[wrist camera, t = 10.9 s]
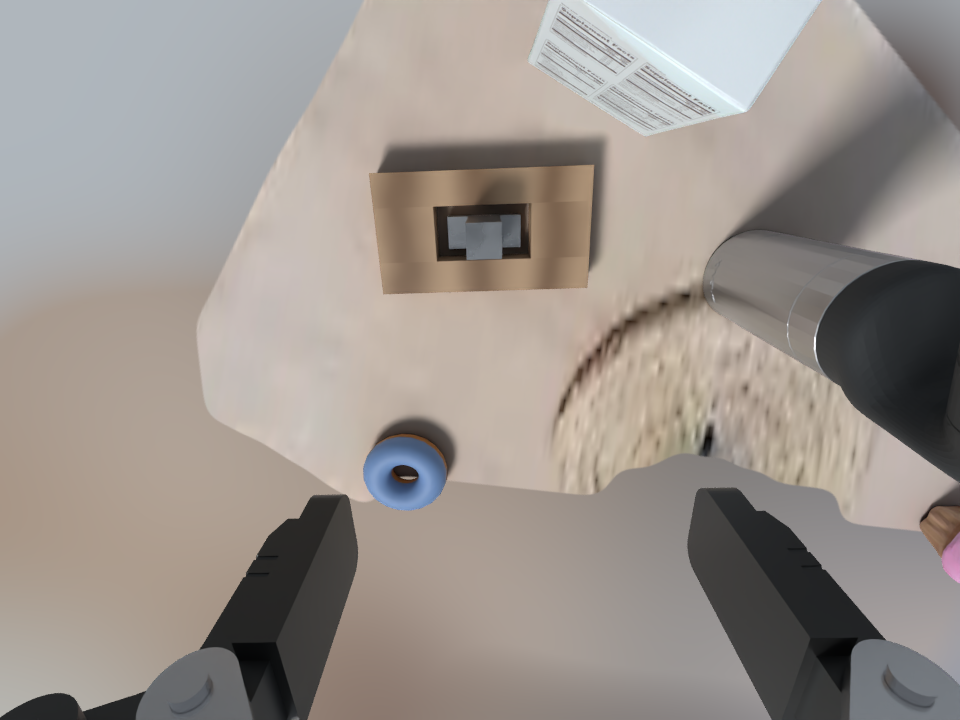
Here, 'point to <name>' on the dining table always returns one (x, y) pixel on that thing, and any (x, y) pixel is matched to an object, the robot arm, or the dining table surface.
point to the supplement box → (667, 55)
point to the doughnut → (411, 454)
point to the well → (549, 191)
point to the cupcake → (945, 536)
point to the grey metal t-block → (484, 234)
